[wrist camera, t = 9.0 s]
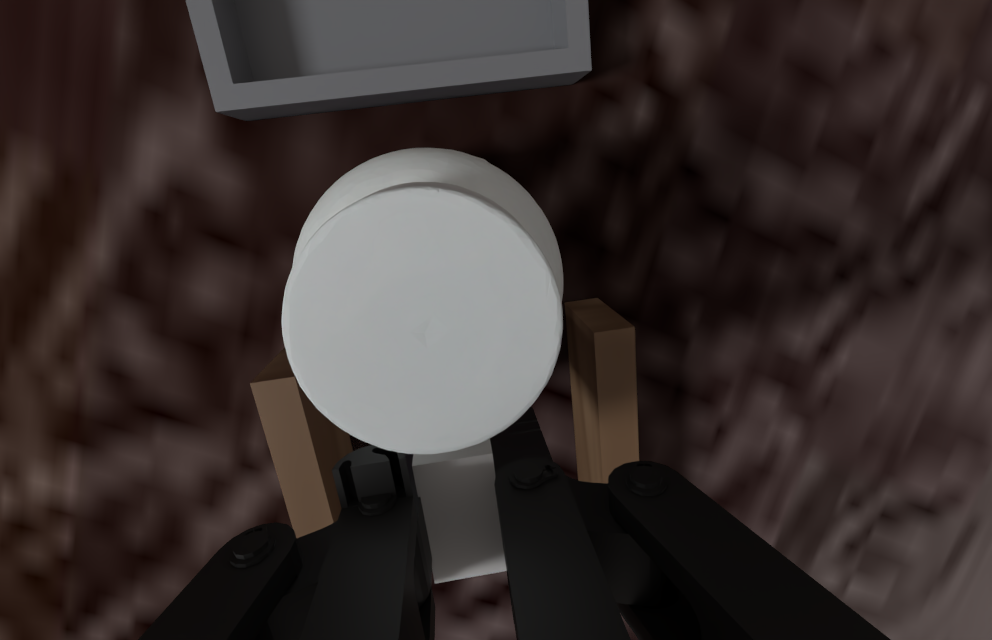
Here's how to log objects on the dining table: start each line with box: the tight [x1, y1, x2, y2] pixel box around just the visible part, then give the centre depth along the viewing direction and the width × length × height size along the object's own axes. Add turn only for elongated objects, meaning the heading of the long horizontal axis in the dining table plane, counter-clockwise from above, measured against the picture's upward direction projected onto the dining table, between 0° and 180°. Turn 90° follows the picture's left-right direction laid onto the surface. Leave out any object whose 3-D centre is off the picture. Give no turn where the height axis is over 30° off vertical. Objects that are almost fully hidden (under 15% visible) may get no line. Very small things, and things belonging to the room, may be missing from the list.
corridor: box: [250, 298, 639, 538], centre depth 16 cm, size 11×9×4 cm
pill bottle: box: [282, 148, 563, 454], centre depth 11 cm, size 5×5×10 cm
